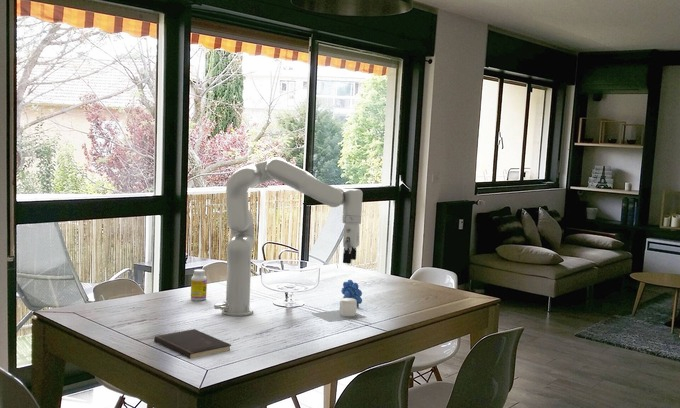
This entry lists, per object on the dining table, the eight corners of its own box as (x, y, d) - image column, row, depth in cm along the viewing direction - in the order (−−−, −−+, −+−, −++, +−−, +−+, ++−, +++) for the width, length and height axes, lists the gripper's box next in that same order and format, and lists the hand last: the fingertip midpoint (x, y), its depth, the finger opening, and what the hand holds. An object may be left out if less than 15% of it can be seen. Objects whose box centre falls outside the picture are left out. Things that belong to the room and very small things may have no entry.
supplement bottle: (204, 301, 293) (205, 272, 292) (189, 300, 293) (189, 271, 292) (207, 297, 299) (208, 269, 298) (192, 297, 300) (193, 268, 298)
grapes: (334, 306, 296) (335, 279, 295) (344, 303, 301) (346, 277, 300) (354, 311, 288) (355, 283, 287) (364, 309, 293) (366, 281, 292)
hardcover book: (194, 335, 245) (194, 328, 245) (231, 351, 228) (231, 344, 228) (154, 342, 234) (154, 336, 233) (189, 360, 217) (189, 353, 217)
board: (329, 325, 264) (329, 310, 263) (310, 317, 276) (311, 302, 275) (366, 320, 274) (367, 306, 273) (347, 312, 286) (347, 298, 285)
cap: (358, 315, 276) (359, 300, 276) (345, 316, 273) (346, 302, 272) (350, 311, 282) (350, 297, 281) (336, 313, 278) (337, 298, 278)
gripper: (356, 222, 264) (354, 265, 266) (364, 218, 281) (362, 258, 283) (337, 220, 266) (335, 263, 268) (347, 216, 283) (345, 257, 284)
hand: (349, 261), depth 275 cm, fingers open, 9 cm apart
